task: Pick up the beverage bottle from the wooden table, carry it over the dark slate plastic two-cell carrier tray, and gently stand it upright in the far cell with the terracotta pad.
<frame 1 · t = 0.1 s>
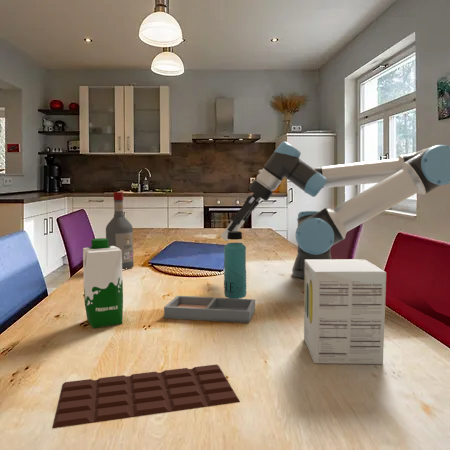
hand: (227, 236, 147), 15 cm above the table, tool tilted 35°, fingers open, 13 cm apart
milk carton: (104, 322, 105), on the table
beverage bottle: (235, 301, 123), on the table
carrier tray: (211, 313, 111), on the table
liquor: (120, 268, 171), on the table
supplement box: (340, 351, 86), on the table
chocolate bar: (147, 396, 70), on the table
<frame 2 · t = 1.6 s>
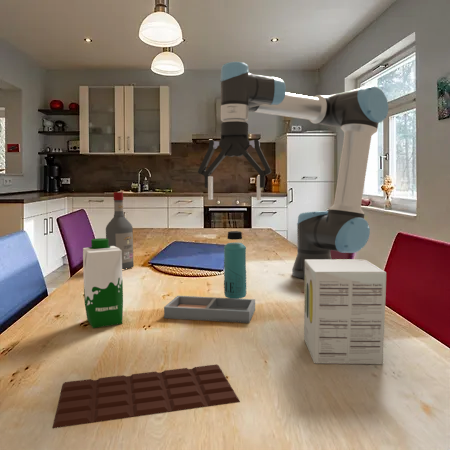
hand: (234, 200, 120), 29 cm above the table, tool pointing down, fingers open, 13 cm apart
nothing on the table moved.
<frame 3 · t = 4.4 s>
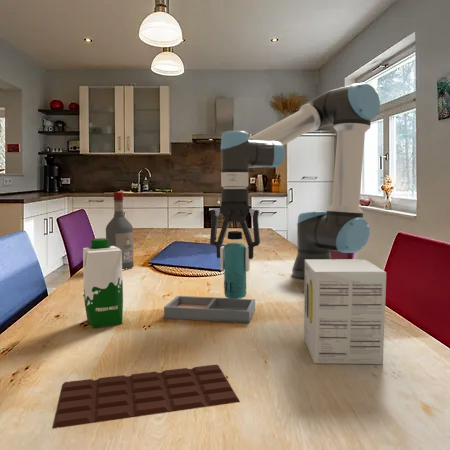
hand: (235, 269, 122), 9 cm above the table, tool pointing down, fingers closed on beverage bottle, 6 cm apart
beverage bottle: (235, 301, 123), on the table, touching gripper
everything else where it was.
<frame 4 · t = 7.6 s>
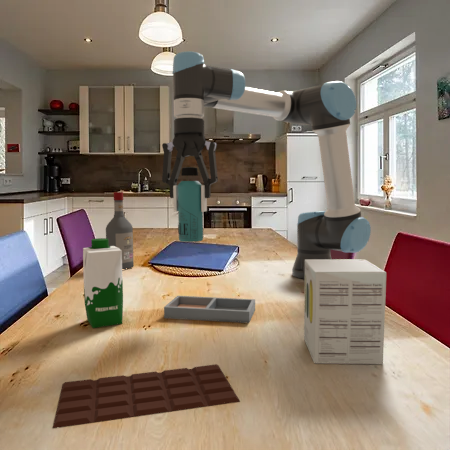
hand: (190, 211, 109), 26 cm above the table, tool pointing down, fingers closed on beverage bottle, 6 cm apart
beverage bottle: (190, 246, 110), point 17 cm above the table, touching gripper
everything else where it was.
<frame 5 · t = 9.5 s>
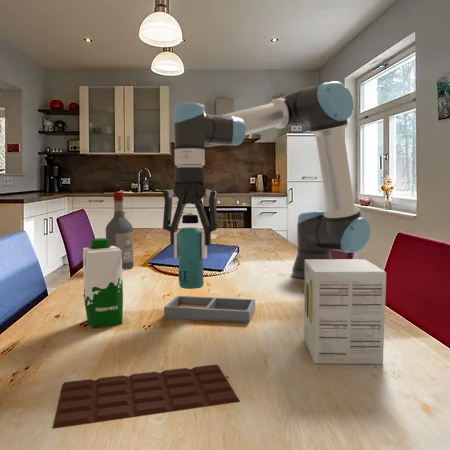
hand: (190, 257, 111), 14 cm above the table, tool pointing down, fingers closed on beverage bottle, 6 cm apart
beverage bottle: (191, 292, 111), point 5 cm above the table, touching gripper
everything else where it was.
when the fingers open (11 cm above the table, at t = 11.1 s): beverage bottle drops 1 cm, resting on carrier tray.
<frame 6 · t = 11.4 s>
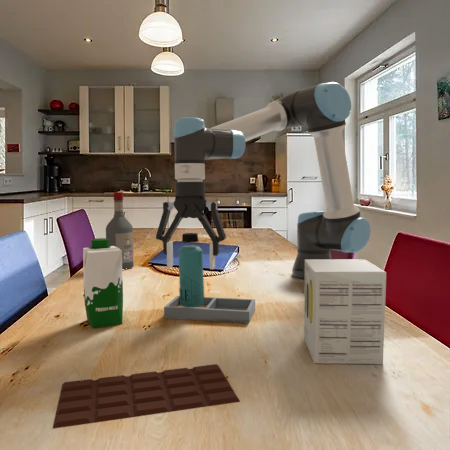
hand: (191, 267, 111), 12 cm above the table, tool pointing down, fingers open, 10 cm apart
beverage bottle: (192, 310, 112), point 1 cm above the table, touching carrier tray
everything else where it was.
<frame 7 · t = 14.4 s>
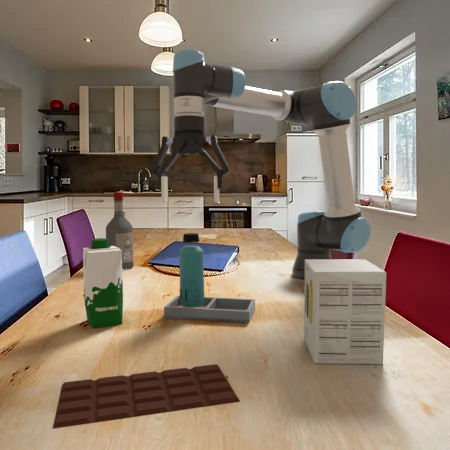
hand: (190, 202, 109), 29 cm above the table, tool pointing down, fingers open, 13 cm apart
nothing on the table moved.
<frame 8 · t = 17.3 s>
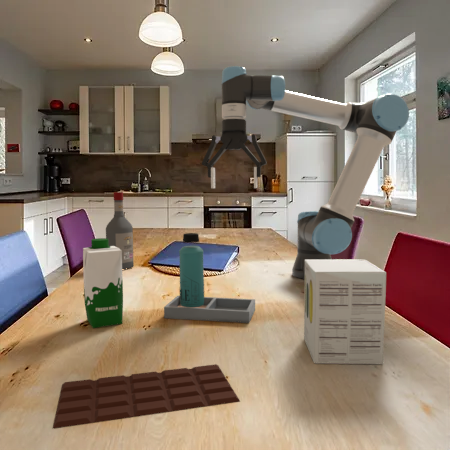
hand: (234, 188, 136), 32 cm above the table, tool pointing down, fingers open, 13 cm apart
nothing on the table moved.
at the end: beverage bottle 0.2 cm from the target spot on the carrier tray, point 0.6 cm above the carrier tray's base; beverage bottle tilted 0°; the gripper is holding nothing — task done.
